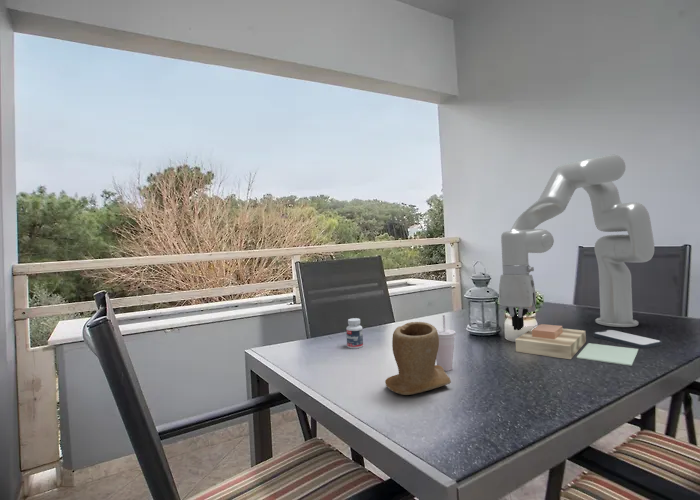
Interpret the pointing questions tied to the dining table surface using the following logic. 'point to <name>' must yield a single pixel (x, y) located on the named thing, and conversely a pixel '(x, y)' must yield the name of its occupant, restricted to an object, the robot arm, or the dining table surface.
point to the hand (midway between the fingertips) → (518, 329)
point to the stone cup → (416, 359)
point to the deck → (552, 344)
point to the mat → (608, 354)
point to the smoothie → (445, 347)
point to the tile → (547, 331)
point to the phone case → (627, 339)
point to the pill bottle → (354, 334)
